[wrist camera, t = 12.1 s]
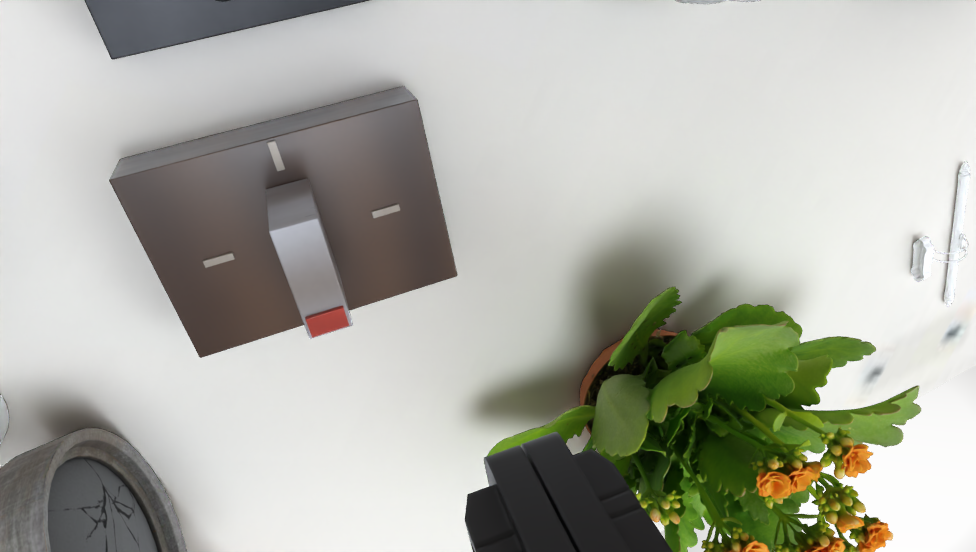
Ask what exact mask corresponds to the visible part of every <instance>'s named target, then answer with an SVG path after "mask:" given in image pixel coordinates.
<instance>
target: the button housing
mask: <svg viewBox="0 0 976 552" xmlns="http://www.w3.org/2000/svg"><path fill="white" fill-rule="evenodd" d="M365 1H370V0H85V2H86V5H87V7H88V9H89V11H90V13H91V15H92V18H93V20H94V22H95V24H96V26H97V29H98V31H99V33H100V35H101V37H102V39H103V42H104V44H105V46H106V48H107V50H108V52H109V55H110V57H111V59H117V58H122V57H126V56H130V55H135V54H139V53H143V52H148V51H152V50H156V49H161V48H165V47H170V46H174V45H178V44H183V43H187V42H191V41H196V40H200V39H204V38H209V37H213V36H217V35H222V34H226V33H230V32H235V31H239V30H243V29H248V28H252V27H256V26H261V25H265V24H270V23H274V22H278V21H283V20H287V19H291V18H296V17H300V16H304V15H309V14H313V13H317V12H322V11H326V10H330V9H335V8H339V7H343V6H348V5H352V4H357V3H361V2H365Z"/></svg>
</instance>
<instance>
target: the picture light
mask: <svg viewBox="0 0 976 552" xmlns="http://www.w3.org/2000/svg"><path fill="white" fill-rule="evenodd" d="M967 163H968V162H967V161H965V162H964V164H963V165H962V167H961V169H960V173H959V174H958V179H959V180H958V189H957V197H956V205H955V214H954V222H953V230H952V239H951V247H950V253H945V252H938V251H934V246H933V244H932V243H931V239H930V238H929V237H928V236H925V237H923V238H921V239H919V240H917V241H916V242H914V243H913V247H914V255H913V267H912V269H911V273H912V275H913V276H914V279H915V280H916V281H917V282H919V281H921V280H924V279H926V278H927V277H929V276H930V275H931V271H930V265H931V263H932V262H933V261H937V262H943V263H949V264H948V272H947V280H946V289H945V293H944V298H945V299H944V301H945V304H946V306H947V307H949V306H950V305H951V304H952V302H953V299H954V296H955V293H954V291H955V284H956V276H957V268H958V261H961V260H963V259H964V258H965V257H966V256H967V250H966V249H967V247H968V241H967V240H966V239H965V234H962V230H963V222H964V214H965V207H966V199H967V191H968V183H969V179H970V173H969V172H970V169H969V165H968V164H967ZM965 241H966V247H965V248H964V242H965ZM960 250H961V251H960ZM964 250H965V256H964V257H963V258H961V259H959V253H960V252H963V251H964ZM934 252H936V253H941V254H950V255H949V261H940V260H935V259H933V256H934Z"/></svg>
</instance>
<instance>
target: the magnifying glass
mask: <svg viewBox="0 0 976 552" xmlns="http://www.w3.org/2000/svg"><path fill="white" fill-rule="evenodd" d="M0 552H187V549H186V545H185V541H184V537H183V534H182V531H181V528H180V524H179V521H178V519H177V516H176V514H175V511H174V509H173V506H172V504H171V501H170V499H169V498H168V496H167V494H166V492H165V490H164V488H163V486H162V484H161V482H160V481H159V479H158V478H157V476H156V475H155V473H154V472H153V470H152V469H151V467H150V466H149V465H148V463H147V462H146V461H145V460H144V459H143V457H142V456H141V455H140V454H139V453H138V452H137V451H136V450H135V449H134V448H133V447H132V446H131V445H130V444H129V443H128V442H126V441H125V440H123V439H122V438H120V437H119V436H117V435H115V434H114V433H111V432H108V431H106V430H103V429H98V428H85V429H82V430H78V431H75V432H72V433H70V434H68V435H65V436H63V437H61V438H58V439H56V440H54V441H51V442H49V443H46V444H44V445H42V446H39V447H37V448H35V449H32V450H30V451H27V452H25V453H23V454H20V455H18V456H16V457H15V458H13V459H12V460H11V461H9V462H8V463H6V464H5V465H4V466H2V467H1V468H0Z"/></svg>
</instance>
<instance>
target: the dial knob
mask: <svg viewBox="0 0 976 552" xmlns="http://www.w3.org/2000/svg"><path fill="white" fill-rule="evenodd" d="M266 199H267V211H268V223H269V233H270V236H271V238H272V241H273V244H274V246H275V249H276V251H277V254H278V257H279V259H280V262H281V265H282V267H283V270H284V273H285V275H286V278H287V280H288V283H289V286H290V288H291V291H292V294H293V296H294V299H295V302H296V304H297V307H298V310H299V312H300V315H301V317H302V320H303V323H304V325H305V328H306V331H307V333H308V336H309V338H310V339H311V338H314V337H318V336H321V335H324V334H327V333H330V332H333V331H337V330H340V329H343V328H346V327H349V326H352V325H353V323H352V319H351V315H350V312H349V308H348V304H347V301H346V297H345V293H344V289H343V286H342V282H341V278H340V275H339V272H338V269H337V266H336V263H335V259H334V256H333V253H332V250H331V247H330V244H329V241H328V238H327V235H326V232H325V229H324V226H323V223H322V220H321V217H320V214H319V211H318V208H317V205H316V201H315V198H314V195H313V192H312V189H311V186H310V183H309V180H308V179H307V178H306V179H303V180H299V181H295V182H292V183H288V184H284V185H280V186H277V187H273V188H269V189H266Z"/></svg>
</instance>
